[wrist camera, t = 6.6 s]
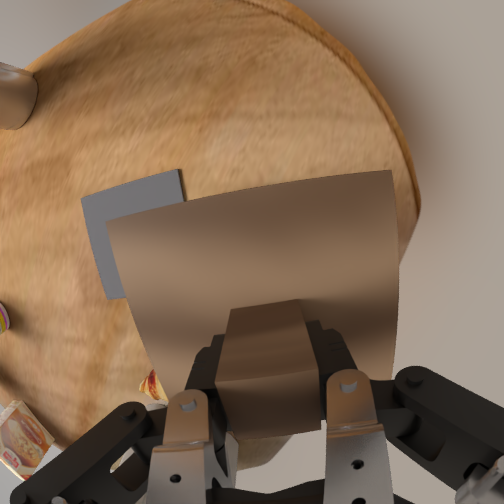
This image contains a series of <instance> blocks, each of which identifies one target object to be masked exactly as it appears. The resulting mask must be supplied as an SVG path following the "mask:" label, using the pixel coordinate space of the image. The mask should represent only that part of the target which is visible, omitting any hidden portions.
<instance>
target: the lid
mask: <svg viewBox="0 0 504 504" xmlns="http://www.w3.org/2000/svg"><path fill="white" fill-rule="evenodd" d="M105 222H106V227H107V231H108V235H109V239H110V243H111V247H112V251H113V255H114V258H115V262H116V266H117V269H118V273H119V276H120V279H121V283H122V286H123V289H124V292H125V295H126V298H127V301H128V304H129V307H130V310H131V313H132V316H133V318H134V321H135V324H136V327H137V329H138V332H139V335H140V337H141V340H142V342H143V345H144V347H145V350H146V352H147V354H148V357H149V359H150V362H151V364H152V366H153V368H154V371H155V373H156V375H157V377H158V380H159V382H160V384H161V386H162V388H163V390H164V392H165V394H166V396H167V398H168V400H169V401H170V399H171V398H172V397H173V396H174V395H176V394H177V393H179V392H181V391H184V389H185V386H186V383H187V380H188V377H189V374H190V371H191V370H192V369H191V368H192V366H193V364H194V360H195V357H196V354H197V353H198V352H199V351H200V350H201V349H202V348H203V347H210V346H211V342H212V339H213V336H214V335H217V334H225V337H224V342H223V346H222V351H221V355H220V360H219V364H218V369H217V373H216V378H215V385H216V387H217V390H218V393H219V396H220V399H221V401H222V404H223V407H224V409H225V412H226V415H227V417H228V420H229V423H230V425H231V428H232V430H233V433H234V435H235V438H236V440H241V439H256V438H267V437H276V436H284V435H291V434H298V433H304V432H310V431H315V430H321V408H320V388H319V371H318V366H317V362H316V359H315V355H314V352H313V348H312V345H311V342H310V338H309V335H308V331H307V328H306V325H305V322H307V321H312V320H318V319H319V321H320V324H321V326H322V329H323V330H327V329H332V328H333V329H335V330H336V331H338V332H339V333H341V335H342V337H343V339H344V342H345V343H346V345H347V348H348V349H349V351H350V354H351V356H352V358H353V360H354V362H355V364H356V366H357V368H358V370H360V371H362V372H364V373H365V374H366V375H367V376H368V377H369V379H372V380H391V378H392V370H393V363H394V355H395V345H396V335H397V321H398V302H399V301H398V300H399V248H398V228H397V214H396V203H395V194H394V185H393V177H392V170H383V171H372V172H362V173H353V174H344V175H336V176H328V177H321V178H313V179H306V180H299V181H292V182H286V183H280V184H273V185H267V186H261V187H256V188H250V189H244V190H239V191H234V192H228V193H223V194H218V195H213V196H208V197H204V198H199V199H194V200H189V201H185V202H180V203H176V204H172V205H167V206H163V207H159V208H155V209H150V210H146V211H142V212H138V213H134V214H131V215H127V216H123V217H119V218H115V219H112V220H109V221H105Z"/></svg>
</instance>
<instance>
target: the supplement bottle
mask: <svg viewBox="0 0 504 504" xmlns="http://www.w3.org/2000/svg"><path fill="white" fill-rule="evenodd" d="M9 325H10V322H9V317H8V314H7V312H6V310H5V308H4V307H3V305H2V304H1V303H0V335H1V334H2V333H4V332H5V331H6V330H8V328H9Z"/></svg>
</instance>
